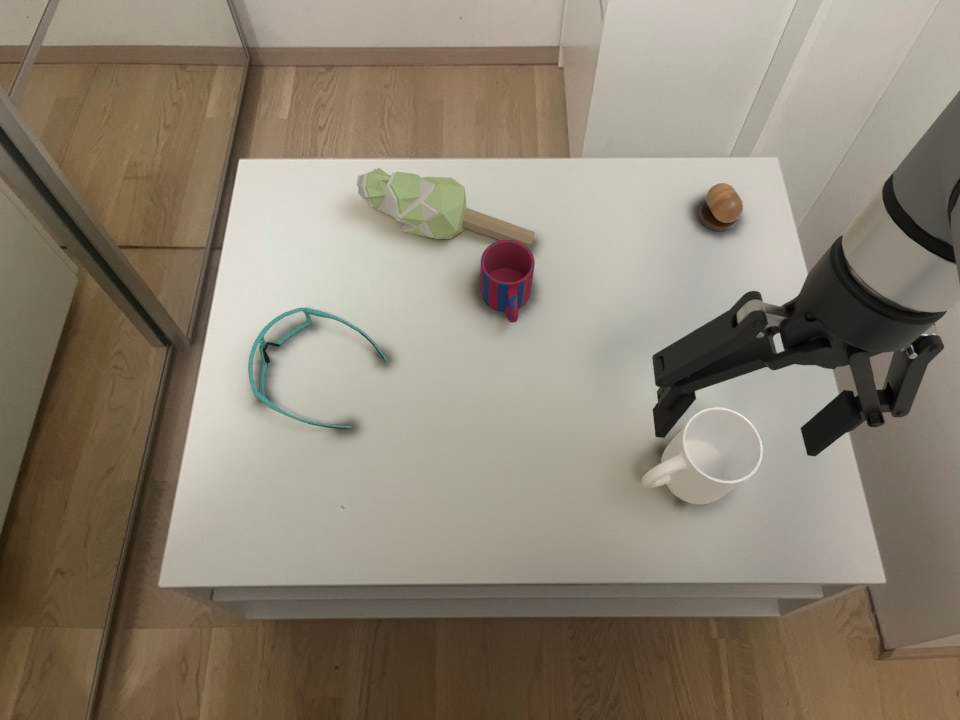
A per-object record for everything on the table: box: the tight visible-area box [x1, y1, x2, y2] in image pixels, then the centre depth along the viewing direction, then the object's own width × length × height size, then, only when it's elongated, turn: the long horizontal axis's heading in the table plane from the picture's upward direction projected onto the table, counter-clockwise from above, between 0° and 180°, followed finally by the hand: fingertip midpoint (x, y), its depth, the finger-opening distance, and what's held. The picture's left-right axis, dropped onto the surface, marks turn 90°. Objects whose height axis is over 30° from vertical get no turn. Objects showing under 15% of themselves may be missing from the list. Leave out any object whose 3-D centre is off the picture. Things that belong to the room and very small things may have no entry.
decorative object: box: [356, 167, 536, 249], centre depth 90 cm, size 9×10×25 cm
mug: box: [641, 406, 764, 505], centre depth 74 cm, size 12×8×10 cm
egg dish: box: [698, 182, 744, 232], centre depth 92 cm, size 6×5×5 cm
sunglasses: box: [247, 307, 388, 430], centre depth 82 cm, size 14×15×5 cm
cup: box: [480, 240, 536, 323], centre depth 85 cm, size 7×10×7 cm
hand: (733, 433), depth 58 cm, fingers open, 13 cm apart
